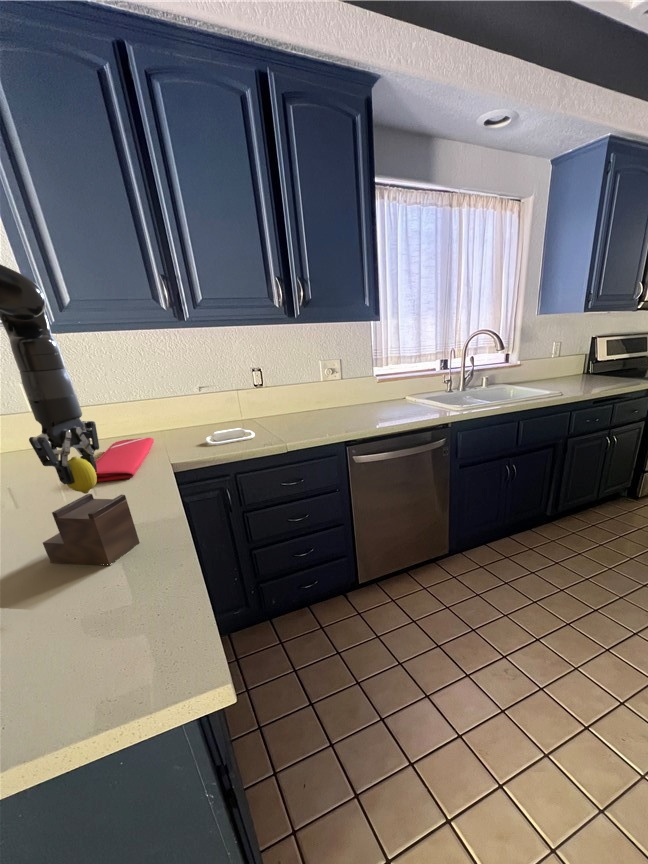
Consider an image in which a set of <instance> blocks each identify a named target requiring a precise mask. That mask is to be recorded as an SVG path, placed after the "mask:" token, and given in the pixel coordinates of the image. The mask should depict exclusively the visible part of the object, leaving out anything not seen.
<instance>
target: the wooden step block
mask: <svg viewBox="0 0 648 864" xmlns="http://www.w3.org/2000/svg"><path fill="white" fill-rule="evenodd" d="M51 514H52V517H53V520H54V523H55V525H56V529H57V530H58V533H56V534H54V535H53V536H51V537H50V538H48V539H47V540H44V541H43V542H42V546H43V547H44V550H45V552H46V555H47V557H48V559H49V562H50V564H65V563H67V565H68V564H69V565H87V566H88V565H89V566H100V565H99V564H102V565H101V566H106V565H107V564H108V565H110V564H111V563H113V562H114V561H115V560H117V559H118V558H119V559H121V558H122V557H123V556H124V554H125V553H126V554H127V553H129V552H130V551H131V550H133V549H134V548H135V547H136V546H138V545H139V544H140V540H139V536H138V533H137V532H138V531H137V529H136V526H135V522H134V520H133V516H132V513H131V510H130V506H129V503H128V500H127V497H126V494H119V495H118V496H116V497H114V498H94V496H93V493H86V494H85V495H83V496H81V497H79V498H77V499H75V500H73V501H71V502H69V503H68V504H66V505H63V506H62V507H60V508H58V509H56V510H54V511H52V512H51ZM126 554H125V555H126ZM121 556H122V557H121ZM120 557H121V558H120ZM119 559H118V560H119ZM118 560H117V561H118ZM115 562H116V561H115ZM115 562H114V563H115ZM114 563H113V564H114ZM103 564H104V565H103ZM110 566H111V565H110Z"/></svg>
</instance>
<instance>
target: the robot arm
mask: <svg viewBox="0 0 648 864" xmlns="http://www.w3.org/2000/svg"><path fill="white" fill-rule="evenodd" d="M46 306H47V301H46V296H45V294H44V291H43V290H42V288H40V286H39V284H37V283H36V281H34V280H32V279H30V278H29V277H28V276H26V275H24V274H23V273H20V272H18V271H16V270H14V269H12V268H10V267H7V266H5V265H3V264H1V263H0V322H1V324H2V326H3V329H4V330H5V332H6V335H7V337H8V340H9V345H10V349H11V352H12V355H13V359H14V361H15V364H16V367H17V369H18V373H19V375H20V379H21V384H22V388H23V390H24V393H25V395H26V398H27V401H28V404H29V406H30V410H31V411H32V414H33V418H34V420H35V421H36V422H37V423H39V424H40V426H41V434H39V435H37V436H30V437H29V438H28V442H29V443H30V445H31V447H32V449H33V451H34V452H35V454H36V456H37V457H38V459H39V461H40V463H41V464H42V466H43V467H53V468H55V471H56V474H57V476H58V479H59V481H60V483H62V484H63V485H67V484H73V483H74V482H75V481H74V478H73V475H72V472H71V469H70V466H68V460H69V455H70V453H71V448H74V449H75V450H76V452H77V453H78V454H79V455H80V456H79V458H81V459H84V460H86V461H88V462H89V463H90V464H91V465H92V466H93V468H94V470H95V472H97V466H96V463H95V462H96V460H95V457H94V455H95V452H96V451H98V450H100V441H99V437H98V431H97V425H96V422H95V421H93V420H82V419H81V418H82V417H83V411H82V407H81V406H80V402H79V399H78V395H77V393H76V390H75V387H74V383H73V381H72V378H71V376H70V374H69V372H68V370H67V367H66V364H65V361H64V358H63V355H62V352H61V349H60V346H59V344H58V342H57V340H56V338H55V337H54V335H53V334H52V333H53V332H52V331H51V326H50V324H49V320H48V317H47V313H46V310H45V309H46Z"/></svg>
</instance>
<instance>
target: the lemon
mask: <svg viewBox="0 0 648 864" xmlns="http://www.w3.org/2000/svg"><path fill="white" fill-rule="evenodd" d="M68 466H70V469H71V472H72V475H73V478H74V481H75V482H74V483H73V484H66V485H67V486H68V487H69V489H71V490H73V491H75V492H79V493H82V494H85V495H87V494H89V492H90V490H92V489H93V488H94V487H95V486H96V484H97V483H98V482H97V476H96V472H95V470H94V468H93V466H92V465H91V464H90V463H89V462H88V461H86V460H84V459H81V458H80V457H77V456H72V457H71V458H70V459H68Z"/></svg>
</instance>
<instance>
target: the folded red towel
mask: <svg viewBox="0 0 648 864" xmlns="http://www.w3.org/2000/svg"><path fill="white" fill-rule="evenodd" d="M154 441H155V439H154V438H152V437H139V438H138V437H137V438H129V439H122V440H118V441H115V442H113V443H112V444H110V446H109V447H108V448H107V450H105V451H104V452H103V454H101V455H100V456H99V457H98V458H97V459H96V460H95V463H96V466H97V472H96V476H97V482H96V483H102V482H109V481H111V482H112V481H119V480H128V479H132V478H134V476H135V475H136V473H137V471H138V470H139V468H141V466H142V464H143V463H144V461H145V459H146V458H147V456H148V454H149V453H150V451H151V449H152V447H153V444H154V443H155V442H154Z"/></svg>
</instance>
